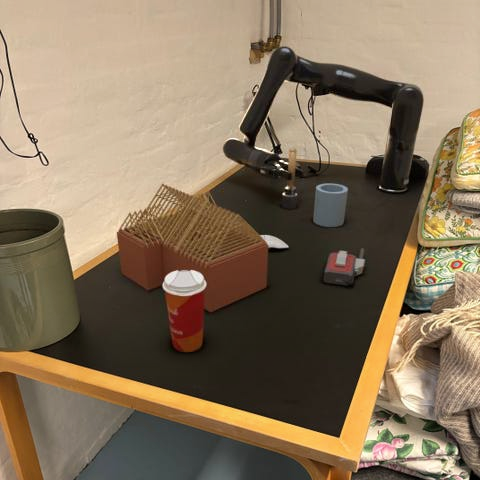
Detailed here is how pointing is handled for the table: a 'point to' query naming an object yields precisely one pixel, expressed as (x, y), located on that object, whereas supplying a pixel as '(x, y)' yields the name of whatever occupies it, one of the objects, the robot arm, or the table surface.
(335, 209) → the jar
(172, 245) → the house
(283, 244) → the pincushion
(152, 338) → the table surface
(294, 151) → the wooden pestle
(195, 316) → the paper cup
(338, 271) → the walkie-talkie
